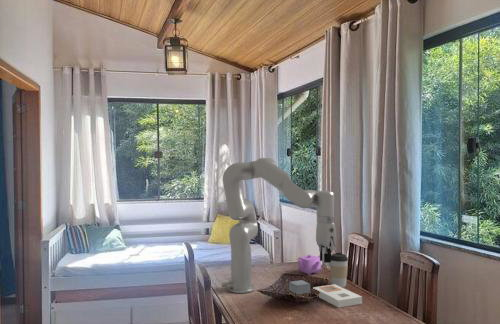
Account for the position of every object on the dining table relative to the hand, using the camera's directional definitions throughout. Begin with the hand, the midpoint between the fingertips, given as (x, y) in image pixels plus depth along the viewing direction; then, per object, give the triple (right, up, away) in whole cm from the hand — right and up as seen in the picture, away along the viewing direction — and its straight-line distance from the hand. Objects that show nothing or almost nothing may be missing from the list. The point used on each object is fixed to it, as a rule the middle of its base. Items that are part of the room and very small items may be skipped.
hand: (325, 261), depth 191 cm
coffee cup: (+10, -17, +23) cm, 30 cm away
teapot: (0, -17, +44) cm, 48 cm away
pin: (0, -2, 0) cm, 2 cm away
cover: (-11, -17, +6) cm, 21 cm away
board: (+5, -17, +2) cm, 18 cm away
